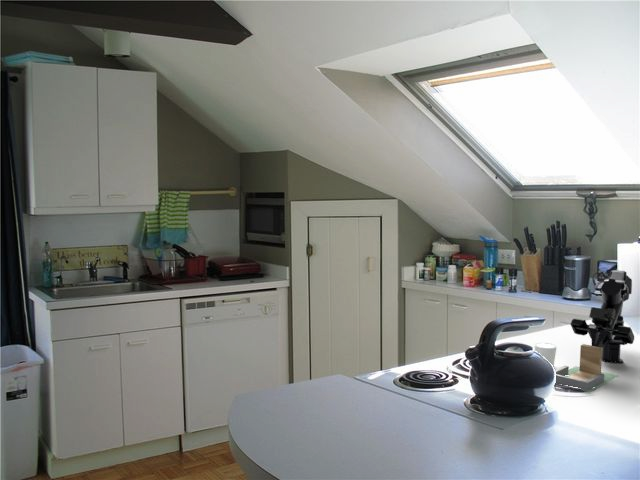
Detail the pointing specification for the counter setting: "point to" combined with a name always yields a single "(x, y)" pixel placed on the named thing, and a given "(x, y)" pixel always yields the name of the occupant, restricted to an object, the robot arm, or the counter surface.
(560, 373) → the pocket
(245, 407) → the counter surface
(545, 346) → the white cup
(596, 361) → the bookend
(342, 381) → the counter surface
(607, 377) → the mat
